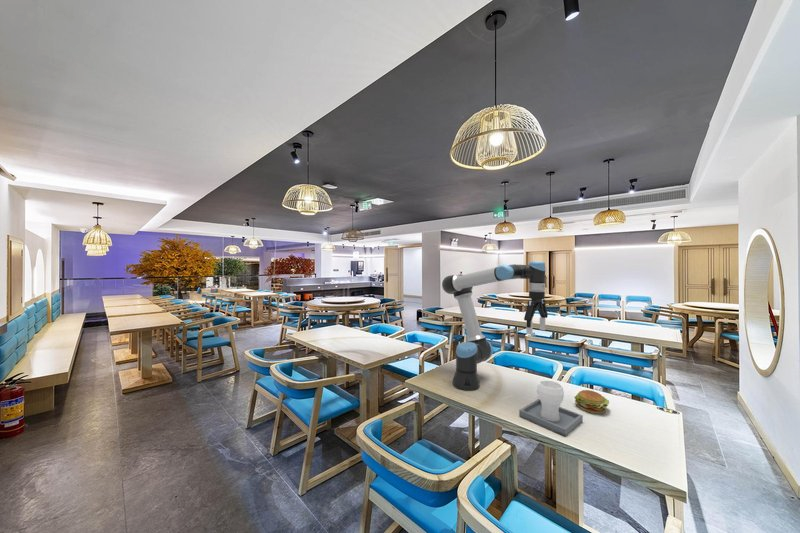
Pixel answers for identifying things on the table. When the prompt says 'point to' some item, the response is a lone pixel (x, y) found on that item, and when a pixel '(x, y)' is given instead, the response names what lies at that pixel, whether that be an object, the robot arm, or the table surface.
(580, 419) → the tray
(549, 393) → the cup
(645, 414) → the table surface
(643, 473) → the table surface
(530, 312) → the robot arm
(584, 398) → the food
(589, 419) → the table surface
